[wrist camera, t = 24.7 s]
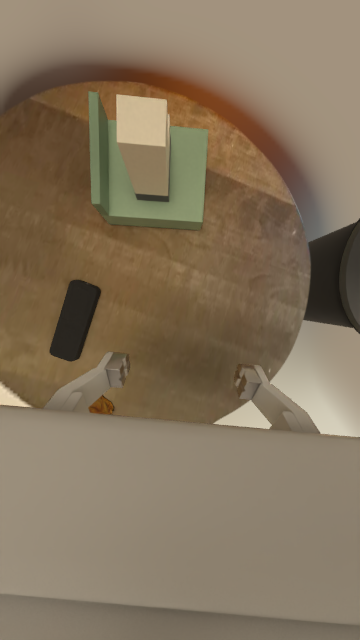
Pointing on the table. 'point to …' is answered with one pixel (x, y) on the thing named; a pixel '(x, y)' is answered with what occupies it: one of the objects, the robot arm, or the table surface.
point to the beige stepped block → (145, 145)
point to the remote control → (74, 320)
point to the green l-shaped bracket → (116, 188)
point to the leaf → (101, 406)
